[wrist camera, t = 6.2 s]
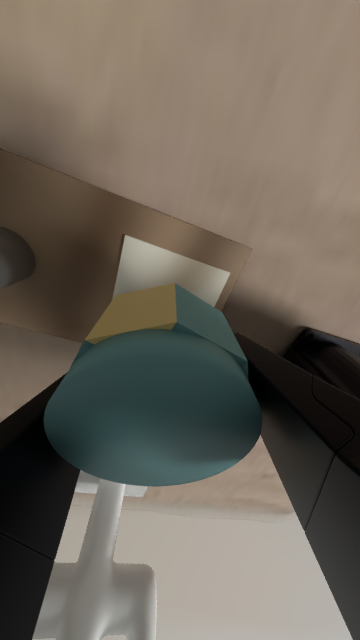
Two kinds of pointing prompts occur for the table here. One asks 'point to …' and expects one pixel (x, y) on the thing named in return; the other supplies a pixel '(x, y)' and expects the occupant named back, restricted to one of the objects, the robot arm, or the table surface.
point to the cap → (156, 393)
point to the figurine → (100, 579)
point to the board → (94, 251)
